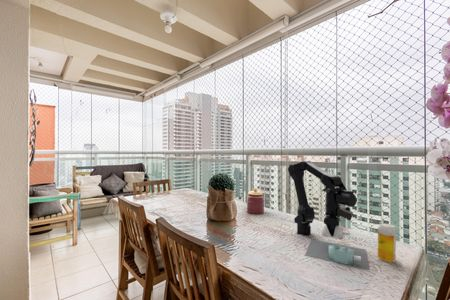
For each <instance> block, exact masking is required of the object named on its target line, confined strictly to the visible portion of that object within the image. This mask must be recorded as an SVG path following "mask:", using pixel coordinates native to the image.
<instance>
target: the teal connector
mask: <svg viewBox="0 0 450 300" xmlns="http://www.w3.org/2000/svg"><path fill="white" fill-rule="evenodd" d="M329 259H330V260H332V261H335V262H339V263H344V264H348V265H353V264H354V260H359V261H361V256H356V255H354V250H352V249H350V248H346V247H341V246H336V245H329ZM335 262H334V263H335ZM339 263H338V264H339ZM344 264H343V265H344ZM348 265H347V266H348Z"/></svg>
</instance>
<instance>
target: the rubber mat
mask: <svg viewBox="0 0 450 300" xmlns="http://www.w3.org/2000/svg"><path fill="white" fill-rule="evenodd" d="M329 245H336V246H341V247H346V248H350V249H352V250H354V255H356V256H361V261H359V260H354V264H353V265H348V264H344V263H339V262H335V261H332V260H330V259H329ZM304 256H305V257H308V258H309V257H310V258H314V259H319V260H322V261H327V262H331V263H336V264H340V265H344V266H349V267H354V268H357V269H362V270H366V271H371V268H370V264H369V258H368V253H367V249H364V248H361V247H355V246H351V245H344V244H339V243H333V242H329V241H328V242H327V241H324V240H318V239H310V241H309V244H308V246H307V249H306V252H305V255H304Z"/></svg>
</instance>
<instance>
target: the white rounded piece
mask: <svg viewBox="0 0 450 300" xmlns="http://www.w3.org/2000/svg"><path fill="white" fill-rule="evenodd" d="M344 229H345V228H344V226H343V225H339V226H336V227H335V231H334V236H331V235H330V233H329V230H328V228H327V226H326V224H324V222H323V223H321V236H323V237H326V238H331V239H337V240H343V239H344V237H345V236H350V231H346V230H344Z"/></svg>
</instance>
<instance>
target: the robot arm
mask: <svg viewBox="0 0 450 300" xmlns="http://www.w3.org/2000/svg"><path fill="white" fill-rule="evenodd" d="M306 171H307V172H309V173H310V174H312V175H313V176H314V177H316V178H317V179H318V180H320V183H321V184H322V185H324V188H323V189H322V190H321V191H322V192H325V216H324V218H323V223H324V224H326V226H327V228H328V230H329V233H330V235H331V236H334V231H335V227H336V226H340V220H341V218H344V219H346V220H347V221H351V220H352V218H353V216H354V212H353V211H351V208H353V207H355V206H356V205H357V200H358V199H357V196H356V195H355V194H354V191H353V190H348V189H347V188H346V186H345V184H344V183H343V181H342V178H341V177H340V176H339V175H337V174H334V173H331V172H327V171H326V170H324V169H322V168H320V167H319V166H317V165H315V163H312V162H311V161H310V160H302V161H300V162H297V163H294V164H289V165H288V168H287V172H288V174H289V177H290V178H291V179H292V180H293V183H294V186H295V187H294V188H295V193H296V196H297V197H296V198H297V202H298V209H297V215H296V216H295V217H294V218H293V221H294V223H295V224H296V226H297V227H296V229H297V230H296V231H297V232H296V234H297V235H301V236H306V237H308V236H309V237H310V235H311V234H312V226H311V225H310V224H312V223H314V219H315V216H316V213H315V210H314V206H311V205H310V204H309V202H308V198H307V197H308V196H307V193H306V192H307V191H306V188H305V183H304V179H303V178H304V175H305V172H306ZM341 205H343V206H346V207H341ZM350 207H351V208H350ZM340 217H341V218H340Z"/></svg>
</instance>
